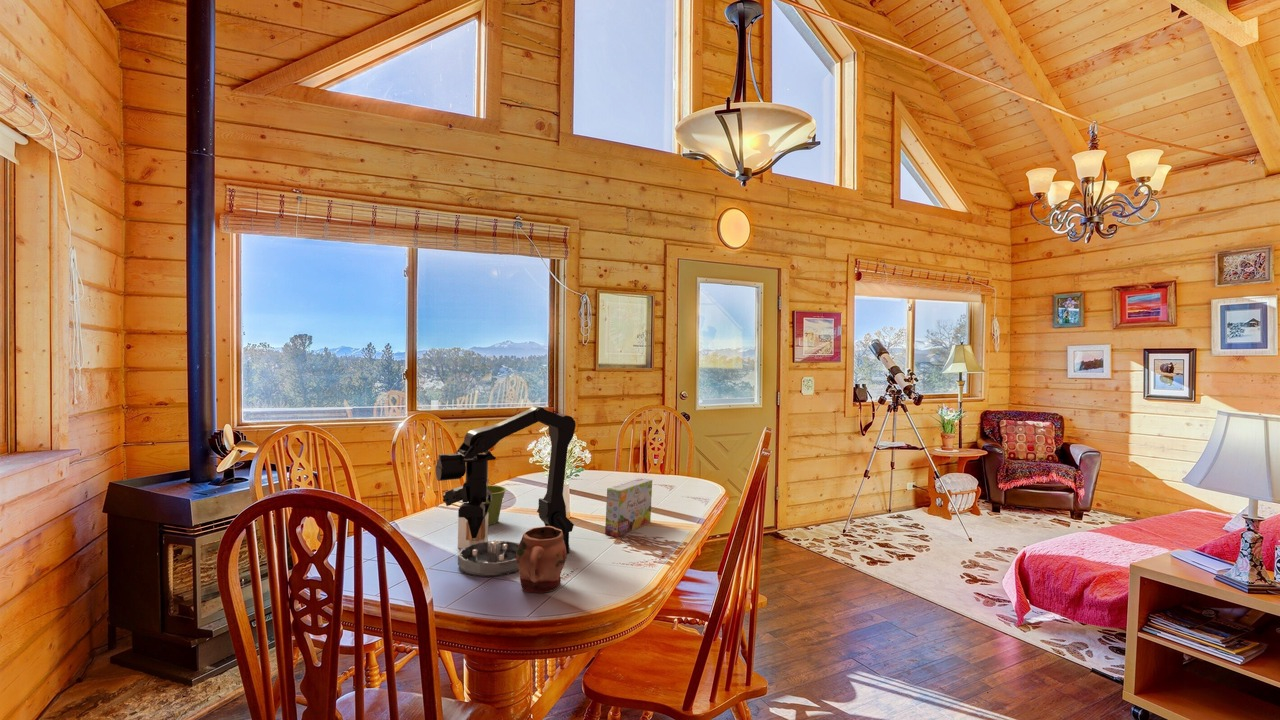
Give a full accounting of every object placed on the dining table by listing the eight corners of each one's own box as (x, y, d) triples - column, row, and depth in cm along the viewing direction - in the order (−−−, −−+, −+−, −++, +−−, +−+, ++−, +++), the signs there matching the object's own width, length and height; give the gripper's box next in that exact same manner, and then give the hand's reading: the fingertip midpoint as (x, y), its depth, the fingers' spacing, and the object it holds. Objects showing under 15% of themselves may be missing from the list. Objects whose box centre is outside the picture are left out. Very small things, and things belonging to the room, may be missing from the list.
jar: (462, 552, 170) (462, 510, 169) (453, 544, 176) (454, 504, 176) (492, 547, 174) (493, 506, 174) (483, 539, 181) (484, 500, 181)
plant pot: (479, 529, 191) (480, 495, 191) (463, 521, 200) (463, 488, 200) (512, 523, 199) (513, 490, 199) (494, 515, 208) (495, 483, 208)
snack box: (619, 538, 186) (620, 490, 186) (604, 535, 189) (605, 487, 189) (651, 522, 205) (653, 478, 204) (637, 519, 207) (638, 476, 207)
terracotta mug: (562, 606, 135) (563, 546, 135) (508, 606, 135) (509, 545, 134) (568, 574, 155) (570, 521, 155) (521, 573, 154) (523, 520, 154)
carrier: (529, 552, 170) (530, 532, 170) (524, 576, 153) (525, 553, 152) (465, 553, 168) (465, 532, 168) (452, 577, 150) (453, 554, 150)
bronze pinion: (486, 535, 163) (486, 517, 162) (483, 541, 158) (483, 522, 158) (467, 535, 162) (467, 517, 162) (464, 541, 157) (464, 522, 157)
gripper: (452, 470, 168) (451, 525, 168) (438, 485, 149) (437, 546, 150) (492, 470, 169) (491, 524, 169) (483, 484, 151) (482, 546, 151)
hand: (475, 534), depth 160 cm, fingers closed on bronze pinion, 5 cm apart
